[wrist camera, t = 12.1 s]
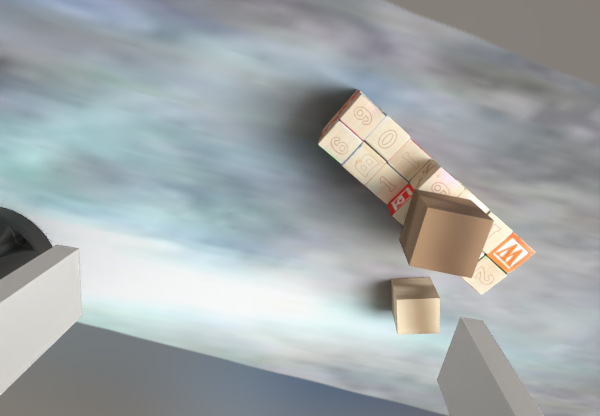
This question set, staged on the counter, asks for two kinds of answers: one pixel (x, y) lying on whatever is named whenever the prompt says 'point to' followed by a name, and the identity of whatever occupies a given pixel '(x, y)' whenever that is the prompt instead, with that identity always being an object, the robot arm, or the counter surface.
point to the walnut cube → (444, 233)
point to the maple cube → (415, 305)
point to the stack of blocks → (411, 179)
